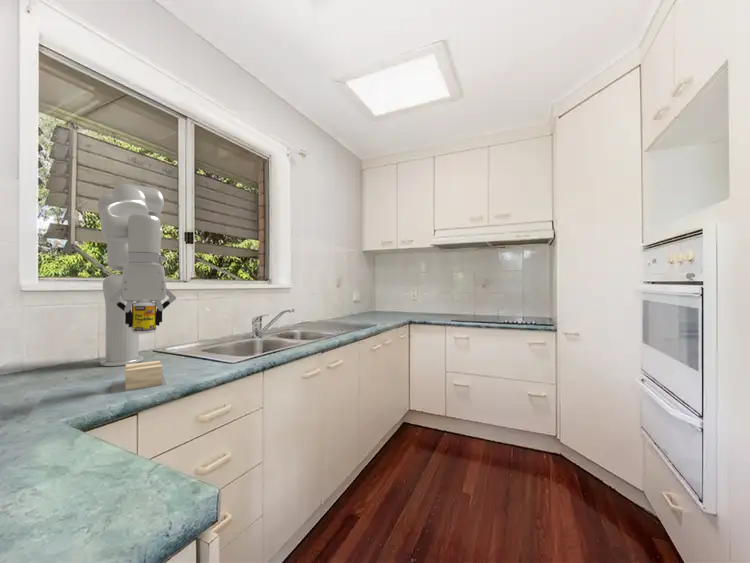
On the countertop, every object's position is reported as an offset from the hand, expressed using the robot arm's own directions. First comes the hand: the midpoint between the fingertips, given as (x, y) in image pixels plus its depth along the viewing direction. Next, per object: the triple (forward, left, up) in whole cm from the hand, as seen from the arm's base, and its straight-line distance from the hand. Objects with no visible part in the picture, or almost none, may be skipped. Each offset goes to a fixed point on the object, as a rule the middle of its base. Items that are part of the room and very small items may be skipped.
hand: (144, 325), depth 92 cm
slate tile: (-1, -1, -17) cm, 17 cm away
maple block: (0, 0, -16) cm, 16 cm away
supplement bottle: (0, 0, -2) cm, 2 cm away
